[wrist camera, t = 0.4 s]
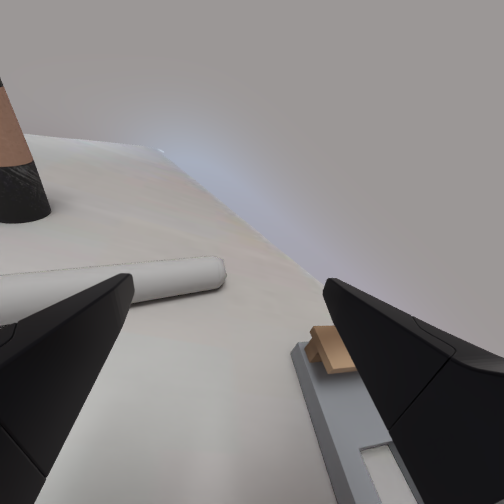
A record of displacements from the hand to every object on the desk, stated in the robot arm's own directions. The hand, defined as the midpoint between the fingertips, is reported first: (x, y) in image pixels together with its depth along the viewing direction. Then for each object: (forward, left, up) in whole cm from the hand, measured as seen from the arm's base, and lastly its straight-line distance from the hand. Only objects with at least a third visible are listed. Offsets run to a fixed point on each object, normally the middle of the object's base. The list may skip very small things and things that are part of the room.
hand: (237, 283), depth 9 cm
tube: (+13, +10, -16) cm, 23 cm away
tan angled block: (+2, -14, -16) cm, 21 cm away
